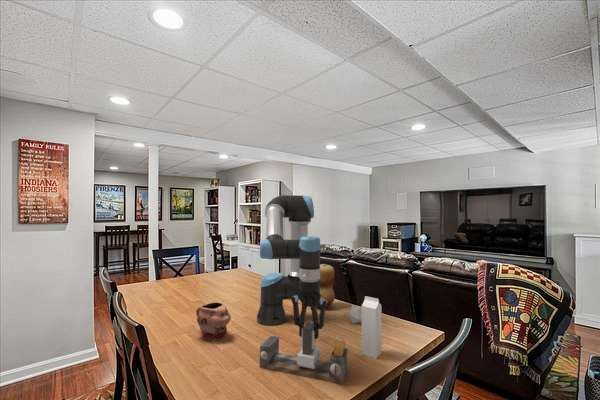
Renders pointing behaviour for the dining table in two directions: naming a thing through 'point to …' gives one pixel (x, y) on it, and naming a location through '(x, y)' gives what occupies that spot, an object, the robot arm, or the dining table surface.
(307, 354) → the carriage
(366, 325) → the milk
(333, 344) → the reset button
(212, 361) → the dining table surface
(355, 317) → the die
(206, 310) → the decorative planter
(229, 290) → the dining table surface
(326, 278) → the butternut squash
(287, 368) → the rail base
